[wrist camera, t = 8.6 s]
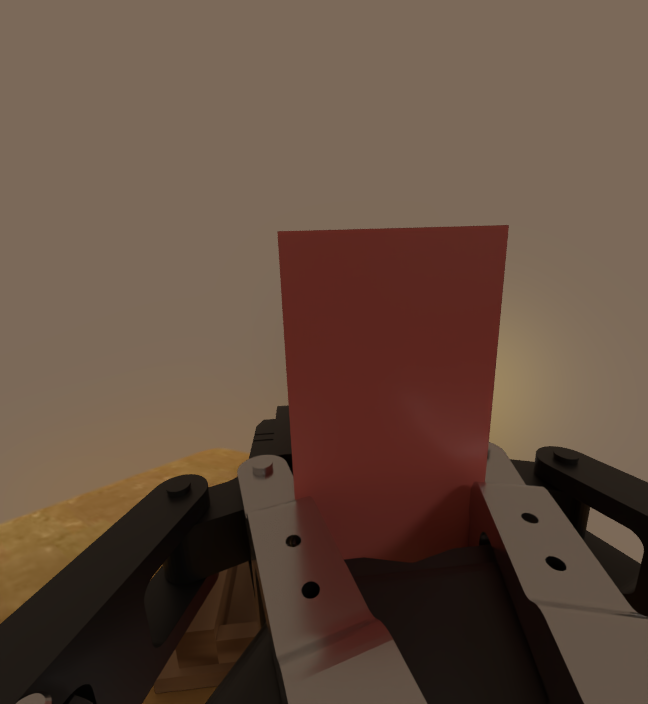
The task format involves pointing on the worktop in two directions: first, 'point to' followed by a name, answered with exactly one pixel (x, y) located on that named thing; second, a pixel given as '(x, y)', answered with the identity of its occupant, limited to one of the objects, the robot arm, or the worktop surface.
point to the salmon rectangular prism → (391, 379)
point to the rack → (214, 635)
